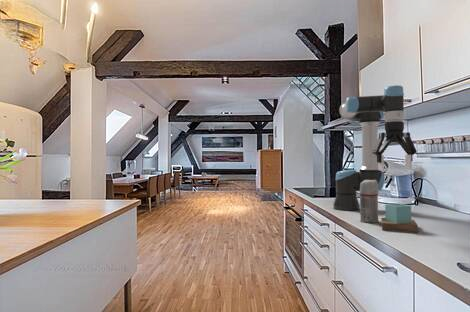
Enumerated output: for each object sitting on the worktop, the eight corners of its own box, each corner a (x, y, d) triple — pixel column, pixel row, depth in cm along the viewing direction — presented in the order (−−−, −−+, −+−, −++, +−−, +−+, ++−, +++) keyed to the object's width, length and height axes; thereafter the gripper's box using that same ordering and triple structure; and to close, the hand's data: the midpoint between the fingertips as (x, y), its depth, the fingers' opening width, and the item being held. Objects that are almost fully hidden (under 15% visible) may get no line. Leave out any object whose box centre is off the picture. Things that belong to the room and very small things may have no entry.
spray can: (380, 223, 145) (380, 180, 145) (362, 223, 147) (361, 180, 147) (376, 220, 153) (375, 179, 154) (358, 219, 155) (357, 179, 155)
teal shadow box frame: (385, 220, 138) (385, 204, 138) (399, 219, 139) (399, 203, 139) (396, 223, 131) (396, 206, 131) (411, 222, 132) (411, 205, 132)
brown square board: (381, 224, 143) (381, 203, 143) (414, 226, 138) (413, 204, 138) (382, 230, 132) (381, 207, 132) (417, 232, 126) (417, 209, 126)
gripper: (374, 120, 131) (374, 171, 131) (425, 120, 136) (426, 169, 136) (363, 122, 139) (364, 170, 139) (412, 122, 144) (413, 168, 144)
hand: (395, 170), depth 138 cm, fingers open, 13 cm apart
